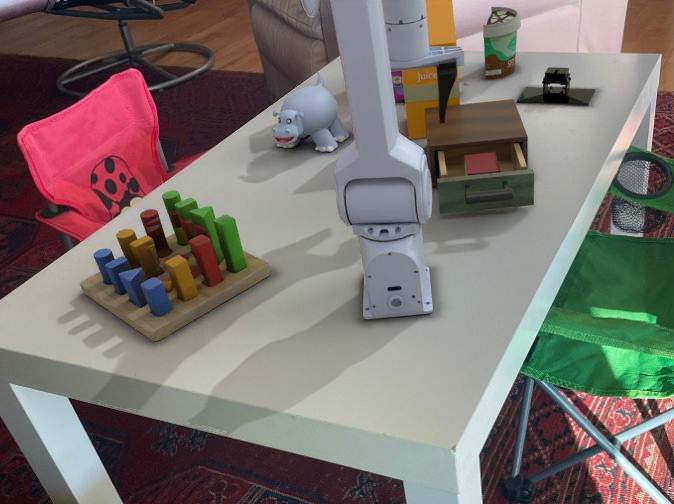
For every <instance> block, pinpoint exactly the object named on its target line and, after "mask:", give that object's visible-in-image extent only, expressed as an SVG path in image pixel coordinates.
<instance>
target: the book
mask: <svg viewBox="0 0 674 504" xmlns="http://www.w3.org/2000/svg"><path fill="white" fill-rule="evenodd" d="M464 164H465V176H469V175H479V174H488V173H498V172H501V170H500V167H499V163H498V160H497V156H496V152H491V153H481V154H472V155H464Z"/></svg>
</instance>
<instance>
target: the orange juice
mask: <svg viewBox="0 0 674 504" xmlns="http://www.w3.org/2000/svg"><path fill="white" fill-rule="evenodd" d="M425 1H426V13H427V26H428V39H429V47H457V46H458V45H457V39H456V26H455V15H454V4H453V0H425ZM456 68H457V77H456V80H455V82H454V85H453V87H452V90H451V93H450V96H449V99H448V104H447V106H451V105H461V103H460V102H461V101H460V97H461V96H460V80H459V66H456ZM402 76H403V88H404V98H405V102H404V104H405V105H404V106H405V114H406V122H407V123H406V124H407V133H408V134H407V135H408V139H409V140H412V139H413V140H414V139H423V138H427V134H426V123H425V111H424V108H432V107H438V103H439V93H438V80H437V68H436V67H431V68H422V69H413V70H404V71H402Z"/></svg>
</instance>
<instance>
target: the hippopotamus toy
mask: <svg viewBox="0 0 674 504" xmlns="http://www.w3.org/2000/svg"><path fill="white" fill-rule="evenodd" d="M315 73H316V74H318V76H317V80H316V85H308V86H305V87H301V88H299V89H296V90H294V91H293V92H291V93H290V94H289V95H288V96H286V97H285V99H284V101H283V102H282V104H281V106H280V111H279V110H276V109H275V110H273V111H272V116H273V117H274V118H276V117H278V118H277V122H278V124H276V125H275V126H274V127H273V128H272V129H271V130H272V133H271V135H272V136H273V140H274V142H275V143H277V144H276V147H278V148H283V149H289V148H290V149H292V148H294V147H296V146H297V145H298V144H299V143H300V140H301V139H306V138H307V137H308V136H309V137H311V139H312V140H313V142H314V143H315V145H316V146H315V149H314V150H315V151H319V152H321V153H325V152H327V153H331V152H333V151H334V150H335V149H337V148H338V147H339V144H338V142H339V143H343V142H344V141H345V140H346V139H348V138H349V137H350V134H349V132H348V131H347V129H346V127H345V126H344V123H343V122H342V121H341V119H340V118H339V116H338V113H339V108H338V103H337V101H336V98H335V97H334V96H333V94H332V93H331V92H330V91H329V90H328V89H327V88H325V81H324V76H323V75H322V73H321V72H320V71H315Z"/></svg>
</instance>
